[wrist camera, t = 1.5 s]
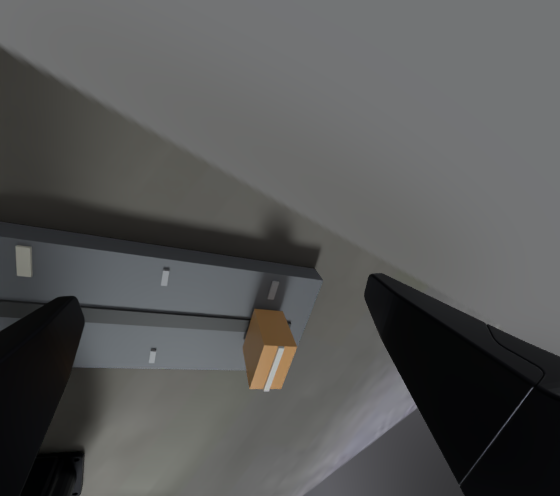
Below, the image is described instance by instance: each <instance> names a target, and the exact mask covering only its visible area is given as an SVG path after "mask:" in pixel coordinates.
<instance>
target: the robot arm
mask: <svg viewBox="0 0 560 496" xmlns="http://www.w3.org/2000/svg"><path fill="white" fill-rule="evenodd" d="M364 297H365V301H366V303H367V306H368V308H369V311H370V313H371V316H372V318H373V321H374V323H375V326H376V328H377V331H378V333H379V335H380V338H381V340H382V341H383V343H384V345H385V347H386V349H387V351H388V353H389V355H390V357H391V359H392V360H393V362H394V364H395V366H396V368H397V370H398V372H399V373H400V375H401V377H402V379H403V381H404V383H405V385H406V387H407V388H408V390H409V392H410V394H411V396H412V398H413V400H414V402H415V403H416V405H417V407H418V409H419V411H420V413H421V415H422V417H423V418H424V420H425V422H426V424H427V426H428V428H429V429H430V431H431V433H432V435H433V437H434V439H435V441H436V443H437V444H438V446H439V448H440V450H441V452H442V454H443V456H444V458H445V460H446V461H447V463H448V465H449V467H450V469H451V471H452V473H453V475H454V476H455V478H456V480H457V482H458V484H459V485H461V486H460V488H461V490H462V492H463V494H464V495H465V496H560V357H559V356H557V355H555V354H553V353H550V352H548V351H546V350H543V349H541V348H539V347H536V346H534V345H532V344H529V343H527V342H525V341H523V340H520V339H518V338H516V337H514V336H512V335H510V334H508V333H505V332H503V331H501V330H499V329H497V328H495V327H493V326H491V325H489V324H487V325H486V323H484V322H482V321H480V320H478V319H476V318H474V317H472V316H470V315H468V314H466V313H464V312H462V311H460V310H457V309H455V308H453V307H451V306H449V305H447V304H445V303H443V302H441V301H439V300H437V299H435V298H433V297H430V296H428V295H426V294H424V293H422V292H420V291H418V290H416V289H414V288H412V287H410V286H408V285H406V284H403V283H401V282H399V281H397V280H395V279H393V278H391V277H389V276H387V275H385V274H383V273H375V274H370V275H369V277H368V281H367V285H366V289H365V293H364ZM84 326H85V318H84V315H83V312H82V309H81V306H80V304H79V301H78V299H77V297H75V296H60V297H57V298H55V299H53V300H52V301H50V302H48V303H47V304H45V305H43V306H41V307H40V308H38V309H36V310H35V311H33V312H31V313H30V314H28V315H26V316H25V317H23V318H21V319H20V320H18V321H16V322H15V323H13V324H11V325H10V326H8V327H6V328H4V329H3V330H1V331H0V496H79V495H80V494H81V491H82V484H83V466H84V454H83V453H81V452H74V453H59V454H44V455H37V454H38V451H39V449H40V446H41V444H42V442H43V439H44V437H45V434H46V432H47V430H48V427H49V425H50V423H51V420H52V418H53V415H54V413H55V411H56V408H57V406H58V403H59V401H60V399H61V396H62V394H63V391H64V389H65V387H66V384H67V382H68V379H69V377H70V374H71V371H72V368H73V364H74V361H75V357H76V354H77V350H78V347H79V343H80V340H81V336H82V333H83V329H84Z"/></svg>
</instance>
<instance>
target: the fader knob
mask: <svg viewBox="0 0 560 496" xmlns="http://www.w3.org/2000/svg"><path fill="white" fill-rule="evenodd" d="M296 349H297V345H296V343H295V340H294V338H293V335H292V333H291V330H290V328H289V325H288V323H287V320H286V318H285V315H284V313H283V311H274V310H264V309H254V311H253V315H252V318H251V321H250V325H249V328H248V331H247V335H246V338H245V341H244V345H243V354H244V360H245V366H246V371H247V377H248V383H249V388H250V389H263V391H269V389H281V388H282V385H283V382H284V380H285V377H286V375H287V372H288V370H289V367H290V364H291V362H292V359H293V357H294V354H295V352H296Z"/></svg>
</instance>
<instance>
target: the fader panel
mask: <svg viewBox="0 0 560 496" xmlns="http://www.w3.org/2000/svg"><path fill="white" fill-rule="evenodd" d="M322 283H323V279H322V278H321V277H320V275H319V274H318V272H317V271H316V270H315V269H314V268H307V267H300V266H294V265H287V264H280V263H274V262H267V261H260V260H254V259H247V258H240V257H234V256H227V255H220V254H214V253H207V252H200V251H194V250H187V249H180V248H174V247H167V246H160V245H154V244H147V243H140V242H134V241H127V240H120V239H114V238H107V237H100V236H94V235H87V234H80V233H74V232H67V231H60V230H54V229H47V228H40V227H34V226H27V225H20V224H14V223H7V222H0V331H1V330H3V329H4V328H6V327H8V326H10V325H11V324H13V323H15V322H16V321H18V320H20V319H21V318H23V317H25V316H26V315H28V314H30V313H31V312H33V311H35V310H36V309H38V308H40V307H41V306H43V305H45V304H47V303H48V302H50V301H52V300H53V299H55V298H57V297H60V296H75V297H77V299H78V301H79V304H80V306H81V309H82V312H83V315H84V318H85V326H84V329H83V333H82V336H81V340H80V343H79V347H78V350H77V354H76V357H75V361H74V364H73V367H81V368H139V369H197V370H246V366H245V360H244V354H243V345H244V341H245V338H246V335H247V331H248V328H249V325H250V321H251V318H252V315H253V311H254V309H264V310H274V311H283V313H284V315H285V318H286V320H287V323H288V325H289V328H290V330H291V333H292V335H293V338H294V340H295V343H296V345H297V347H298V344H299V342H300V339H301V337H302V334H303V331H304V329H305V326H306V324H307V321H308V319H309V316H310V313H311V311H312V308H313V306H314V303H315V301H316V298H317V295H318V293H319V290H320V288H321V285H322ZM294 355H295V354H294ZM292 360H293V359H292ZM290 365H291V364H290Z"/></svg>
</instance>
